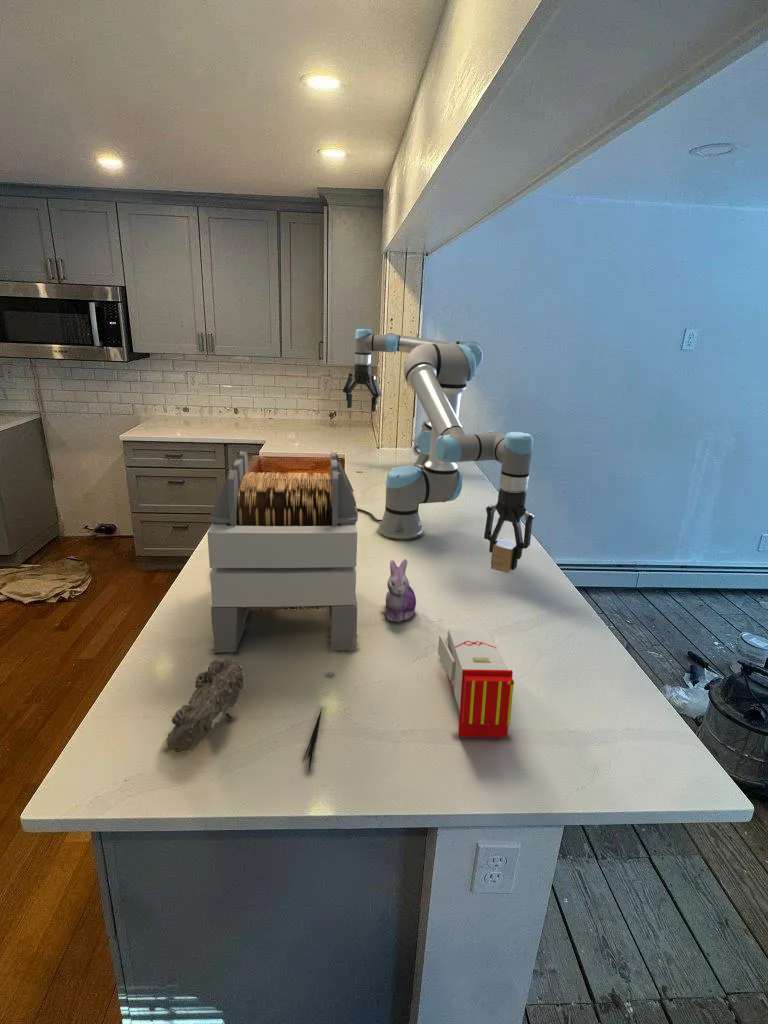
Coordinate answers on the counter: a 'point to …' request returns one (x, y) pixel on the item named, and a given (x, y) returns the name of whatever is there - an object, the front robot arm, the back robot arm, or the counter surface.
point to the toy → (478, 682)
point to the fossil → (206, 705)
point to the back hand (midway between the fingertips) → (361, 409)
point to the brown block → (503, 555)
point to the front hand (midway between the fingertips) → (503, 565)
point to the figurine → (399, 594)
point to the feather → (313, 740)
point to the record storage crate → (283, 549)
